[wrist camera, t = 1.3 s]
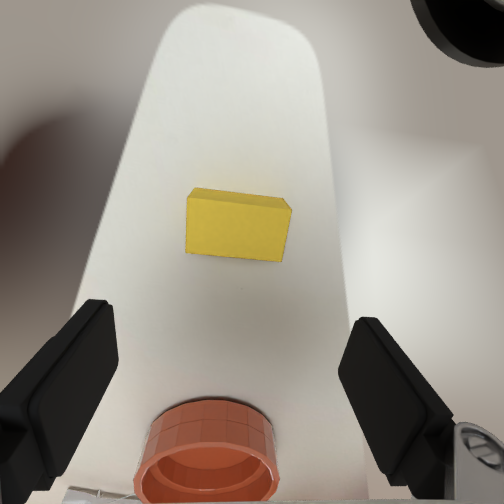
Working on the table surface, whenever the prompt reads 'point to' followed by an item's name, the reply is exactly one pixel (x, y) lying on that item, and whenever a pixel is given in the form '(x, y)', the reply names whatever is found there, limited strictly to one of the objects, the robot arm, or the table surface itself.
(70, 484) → the table surface
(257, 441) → the bowl
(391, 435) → the robot arm
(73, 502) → the crossbow
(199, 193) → the sponge
